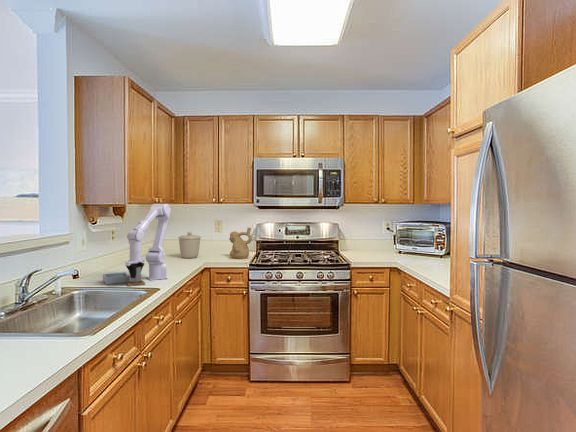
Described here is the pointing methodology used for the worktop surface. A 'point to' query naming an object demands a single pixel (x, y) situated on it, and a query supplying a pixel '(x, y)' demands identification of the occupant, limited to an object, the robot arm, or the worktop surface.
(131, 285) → the socket
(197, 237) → the canister
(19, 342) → the worktop surface
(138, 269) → the strut
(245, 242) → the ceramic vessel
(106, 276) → the bin
